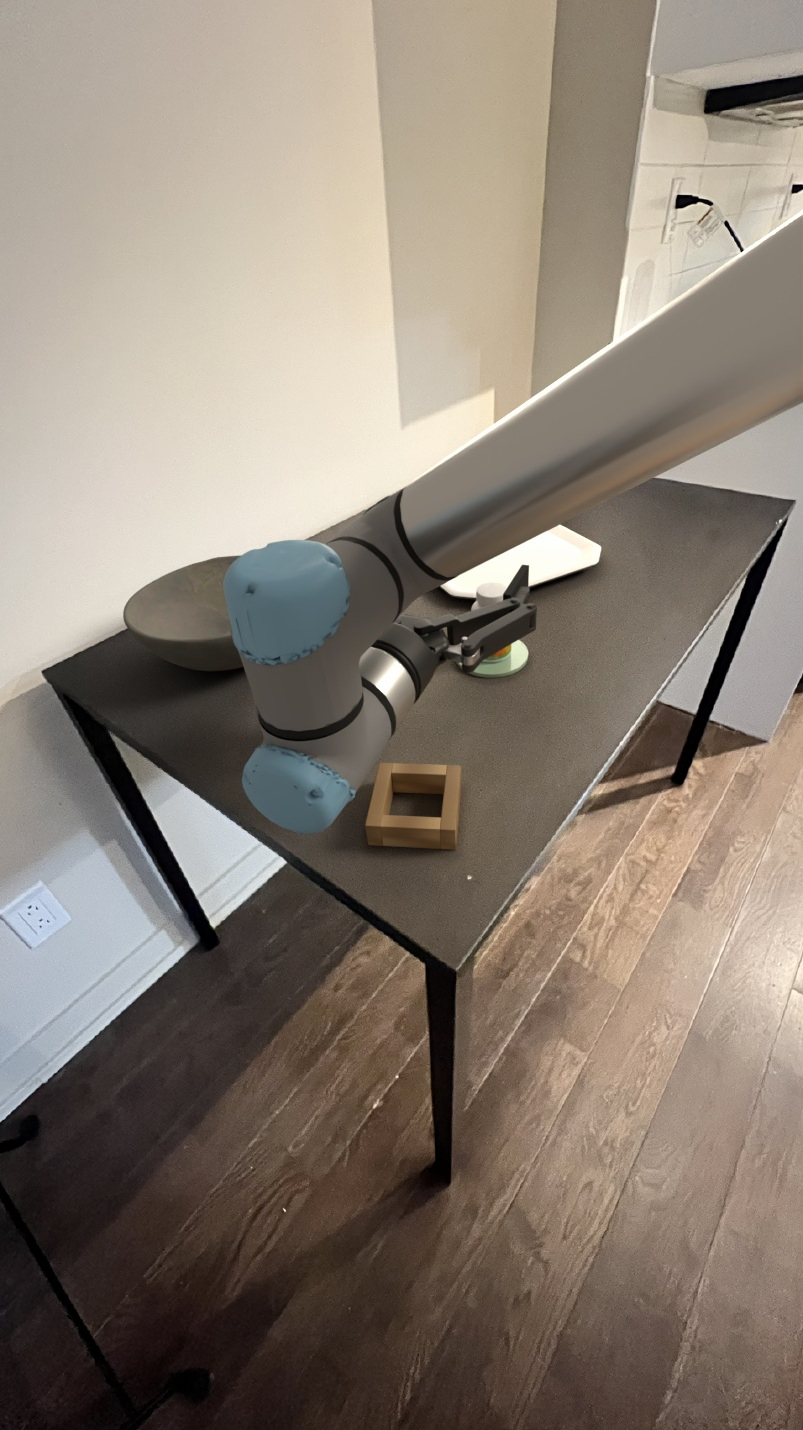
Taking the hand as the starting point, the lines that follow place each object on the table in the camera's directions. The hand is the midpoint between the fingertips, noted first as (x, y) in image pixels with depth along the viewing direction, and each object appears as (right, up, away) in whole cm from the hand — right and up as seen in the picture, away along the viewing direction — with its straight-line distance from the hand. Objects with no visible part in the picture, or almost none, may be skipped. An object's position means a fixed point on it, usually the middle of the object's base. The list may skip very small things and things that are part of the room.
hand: (464, 569), depth 68 cm
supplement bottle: (+6, -8, +18) cm, 20 cm away
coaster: (+6, -8, +18) cm, 20 cm away
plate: (+10, +11, +41) cm, 43 cm away
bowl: (-31, -6, +25) cm, 41 cm away
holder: (-5, -26, -3) cm, 27 cm away
